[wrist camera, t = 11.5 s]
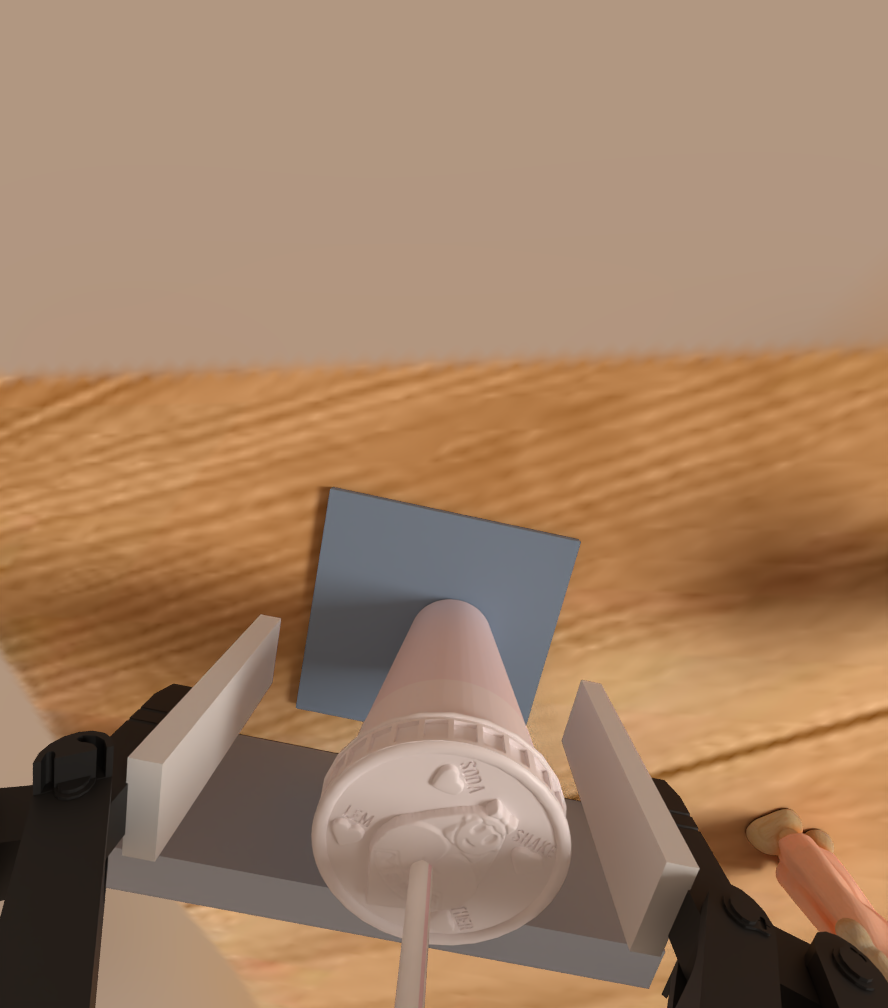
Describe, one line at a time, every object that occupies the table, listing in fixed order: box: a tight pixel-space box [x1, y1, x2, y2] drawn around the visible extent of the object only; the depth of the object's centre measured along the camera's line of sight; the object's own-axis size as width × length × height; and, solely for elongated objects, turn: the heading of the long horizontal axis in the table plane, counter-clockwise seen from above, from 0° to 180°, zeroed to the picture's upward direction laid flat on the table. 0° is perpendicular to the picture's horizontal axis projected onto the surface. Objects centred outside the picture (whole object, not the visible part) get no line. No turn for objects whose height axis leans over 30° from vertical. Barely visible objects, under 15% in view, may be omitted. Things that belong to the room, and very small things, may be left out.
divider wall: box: [106, 734, 665, 989], centre depth 19 cm, size 2×22×6 cm, turn 78°
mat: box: [296, 487, 581, 725], centre depth 20 cm, size 11×11×1 cm
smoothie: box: [311, 599, 572, 1008], centre depth 13 cm, size 6×6×14 cm
